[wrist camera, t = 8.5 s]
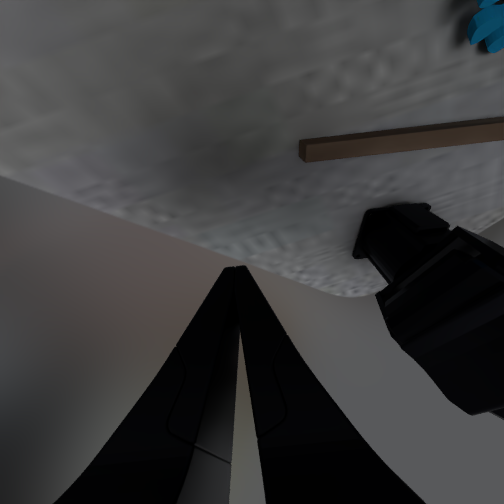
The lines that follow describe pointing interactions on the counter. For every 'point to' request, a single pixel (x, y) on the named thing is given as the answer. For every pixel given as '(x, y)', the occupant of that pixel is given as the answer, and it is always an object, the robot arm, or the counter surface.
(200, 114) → the counter surface
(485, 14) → the blue irregular piece
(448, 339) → the robot arm
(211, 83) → the counter surface
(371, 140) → the guide channel
